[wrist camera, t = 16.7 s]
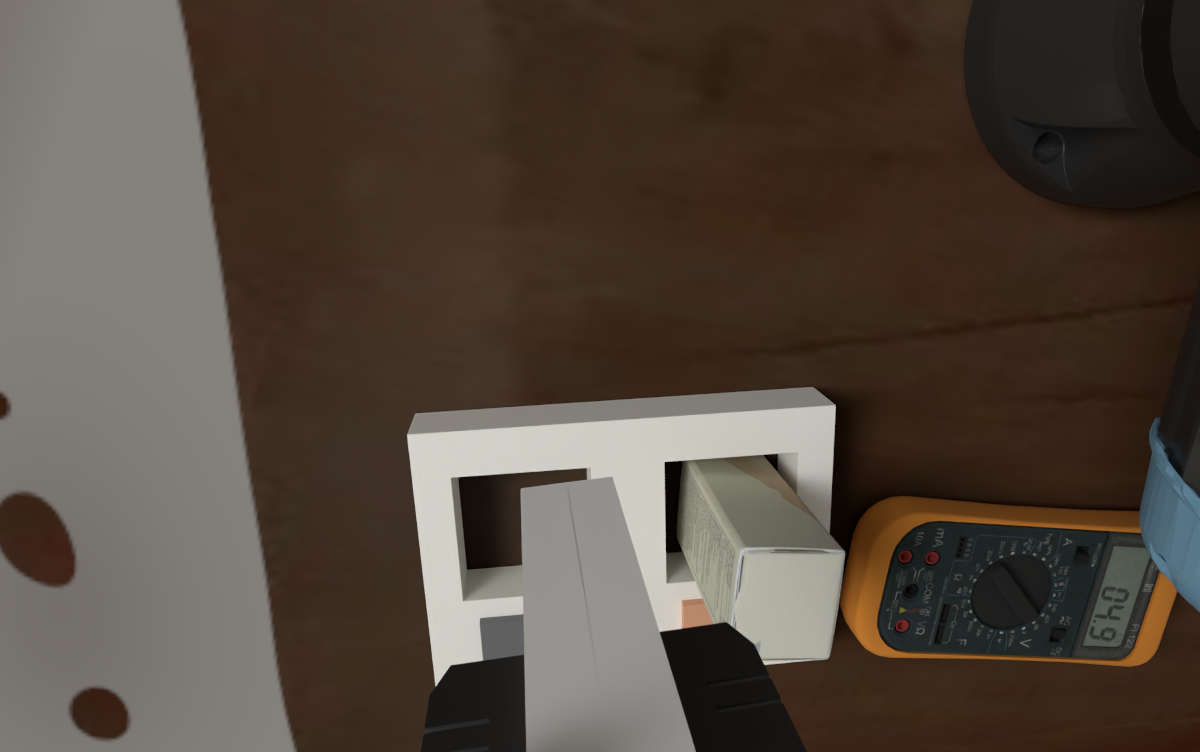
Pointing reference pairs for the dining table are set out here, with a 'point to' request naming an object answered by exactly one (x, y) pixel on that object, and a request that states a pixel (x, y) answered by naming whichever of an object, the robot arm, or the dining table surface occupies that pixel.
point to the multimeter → (1003, 583)
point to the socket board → (607, 449)
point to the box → (760, 556)
